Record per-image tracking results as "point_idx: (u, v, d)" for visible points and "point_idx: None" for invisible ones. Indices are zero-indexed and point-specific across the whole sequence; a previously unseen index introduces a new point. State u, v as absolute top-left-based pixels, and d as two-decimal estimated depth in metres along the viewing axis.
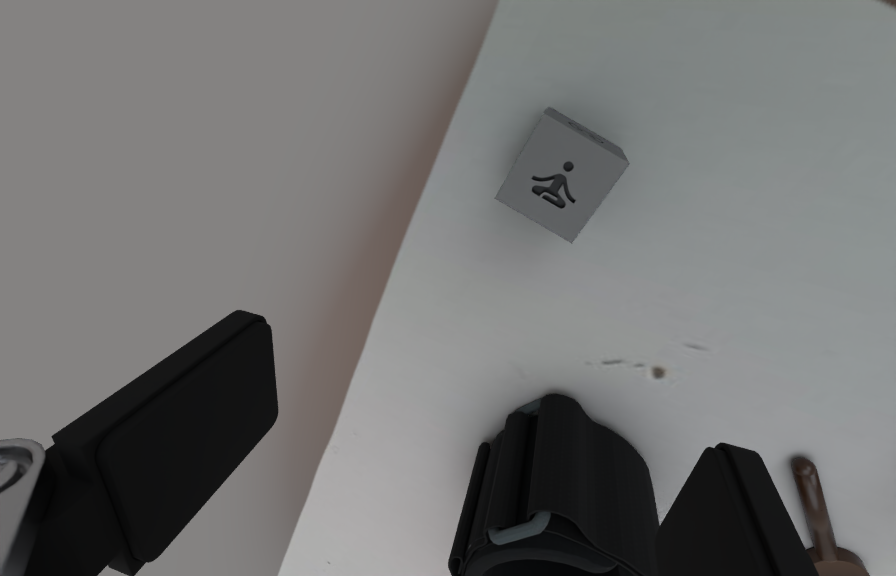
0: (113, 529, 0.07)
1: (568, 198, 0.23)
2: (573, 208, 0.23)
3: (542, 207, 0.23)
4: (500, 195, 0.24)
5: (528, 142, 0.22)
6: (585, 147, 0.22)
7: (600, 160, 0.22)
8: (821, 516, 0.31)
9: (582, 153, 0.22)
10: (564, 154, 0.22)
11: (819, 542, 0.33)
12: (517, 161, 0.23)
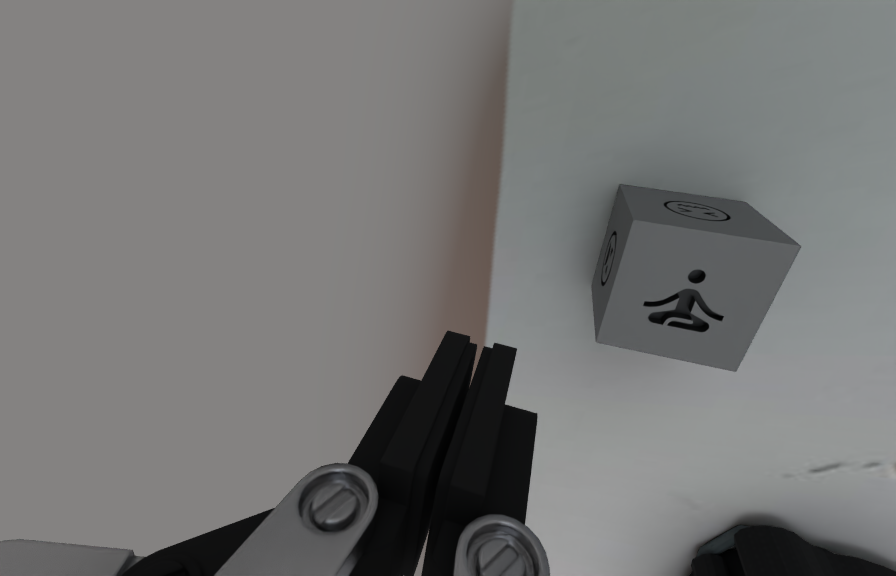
0: (402, 548, 0.07)
1: (710, 315, 0.15)
2: (723, 327, 0.15)
3: (672, 337, 0.16)
4: (603, 337, 0.16)
5: (623, 262, 0.15)
6: (716, 245, 0.14)
7: (748, 255, 0.14)
8: None
9: (714, 254, 0.14)
10: (685, 262, 0.14)
11: None
12: (614, 290, 0.15)
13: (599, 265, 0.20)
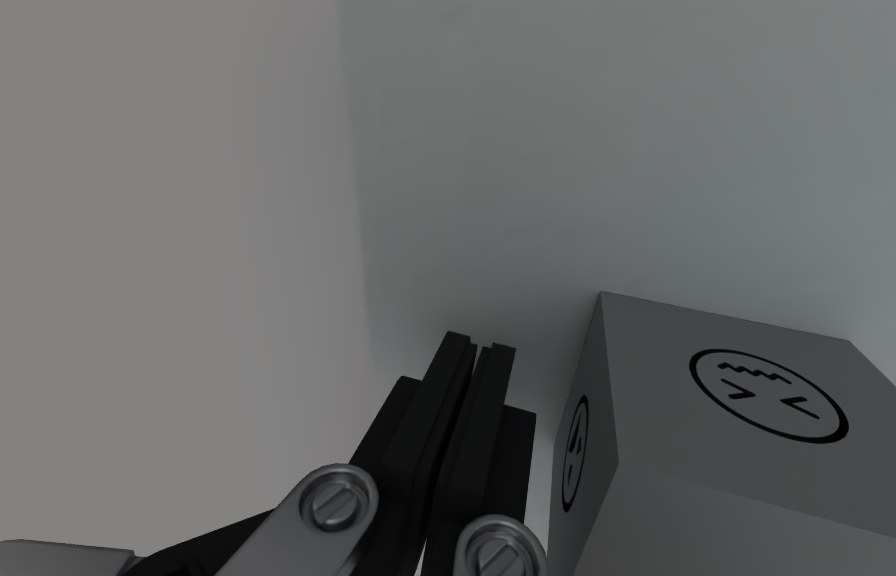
0: (402, 548, 0.07)
1: None
2: None
3: None
4: None
5: (594, 539, 0.06)
6: (843, 549, 0.05)
7: None
8: None
9: (833, 565, 0.05)
10: (750, 567, 0.06)
11: None
12: None
13: (564, 427, 0.11)
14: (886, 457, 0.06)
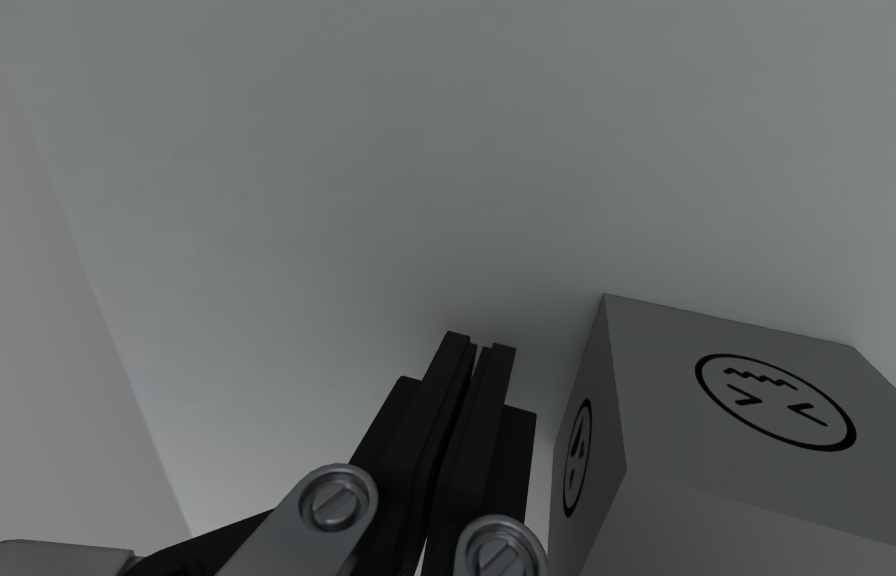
0: (402, 548, 0.07)
1: None
2: None
3: None
4: None
5: (599, 547, 0.06)
6: (854, 560, 0.05)
7: None
8: None
9: None
10: None
11: None
12: None
13: (565, 430, 0.11)
14: (895, 466, 0.06)
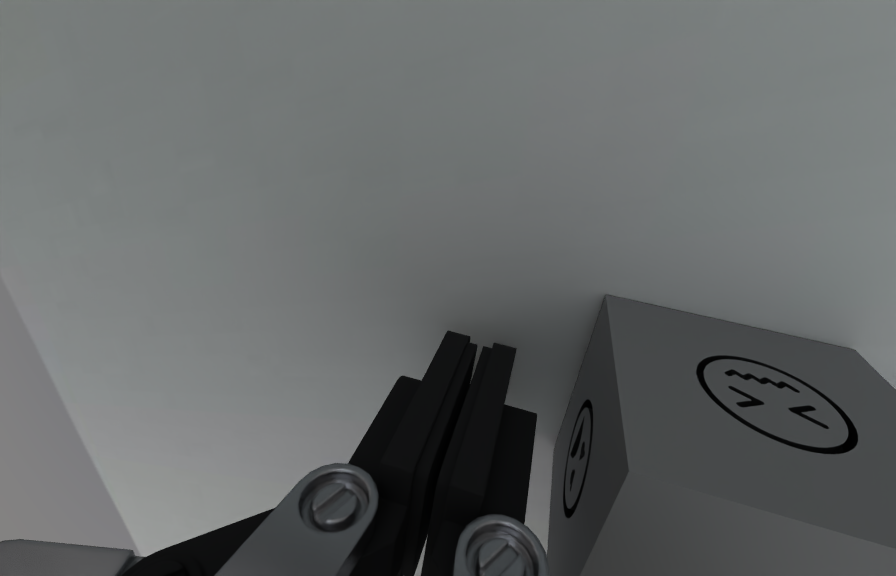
0: (402, 548, 0.07)
1: None
2: None
3: None
4: None
5: (600, 547, 0.06)
6: (855, 562, 0.05)
7: None
8: None
9: None
10: None
11: None
12: None
13: (565, 431, 0.11)
14: None
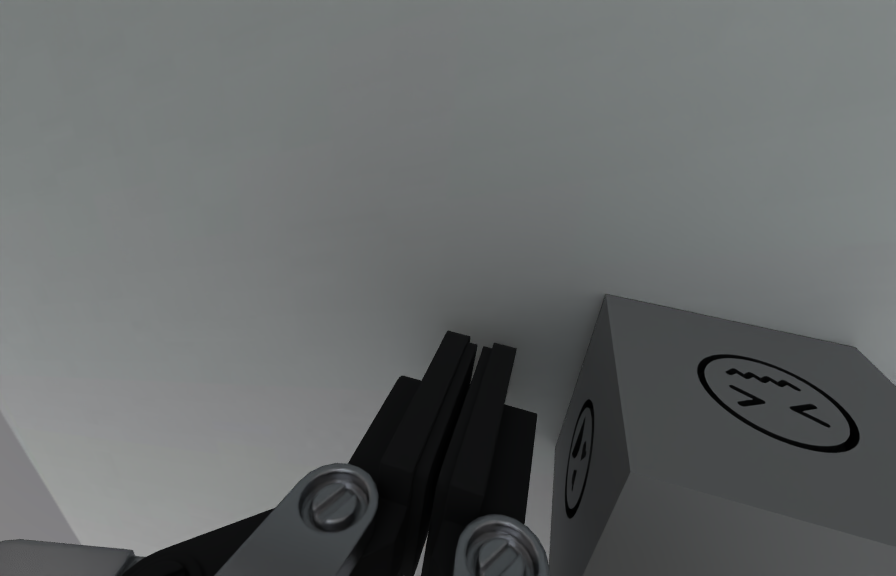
0: (402, 548, 0.07)
1: None
2: None
3: None
4: None
5: (602, 548, 0.06)
6: (858, 561, 0.05)
7: None
8: None
9: None
10: None
11: None
12: None
13: (566, 431, 0.11)
14: None
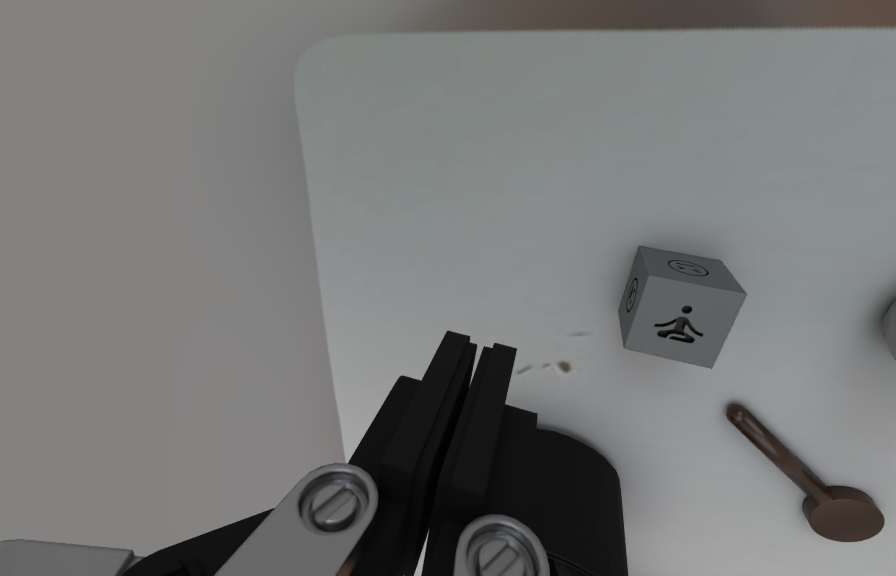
0: (402, 548, 0.07)
1: (695, 333, 0.25)
2: (703, 340, 0.25)
3: (672, 346, 0.25)
4: (628, 345, 0.26)
5: (642, 299, 0.25)
6: (698, 291, 0.24)
7: (717, 298, 0.23)
8: (781, 458, 0.30)
9: (697, 296, 0.24)
10: (679, 301, 0.24)
11: (801, 486, 0.31)
12: (636, 316, 0.25)
13: (624, 298, 0.29)
14: (714, 278, 0.24)
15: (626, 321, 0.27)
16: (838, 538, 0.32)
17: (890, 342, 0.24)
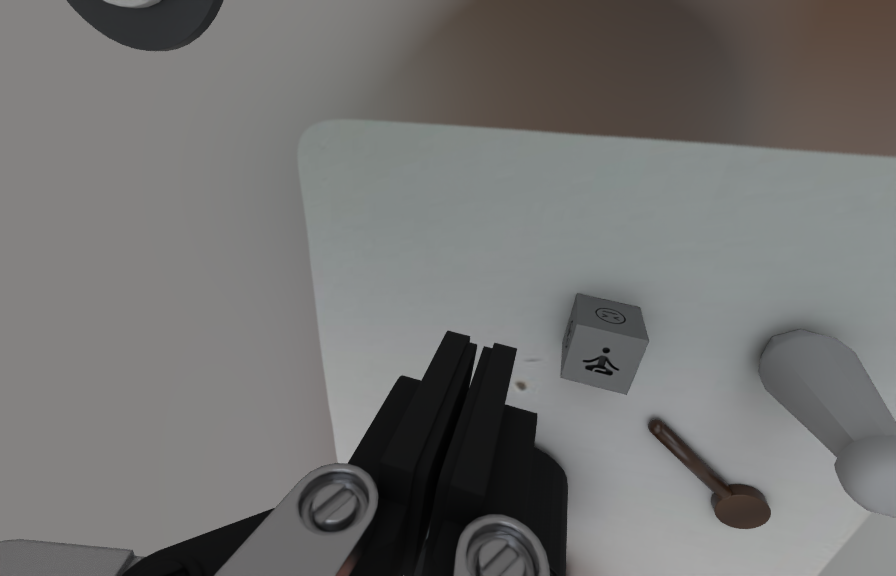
0: (402, 548, 0.07)
1: (613, 367, 0.32)
2: (619, 373, 0.32)
3: (596, 377, 0.32)
4: (564, 375, 0.33)
5: (572, 341, 0.32)
6: (613, 337, 0.31)
7: (627, 342, 0.31)
8: (690, 462, 0.38)
9: (613, 341, 0.31)
10: (600, 344, 0.31)
11: (706, 484, 0.39)
12: (569, 353, 0.32)
13: (566, 334, 0.36)
14: (628, 326, 0.32)
15: (564, 355, 0.34)
16: (737, 525, 0.40)
17: (760, 376, 0.31)
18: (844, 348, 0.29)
